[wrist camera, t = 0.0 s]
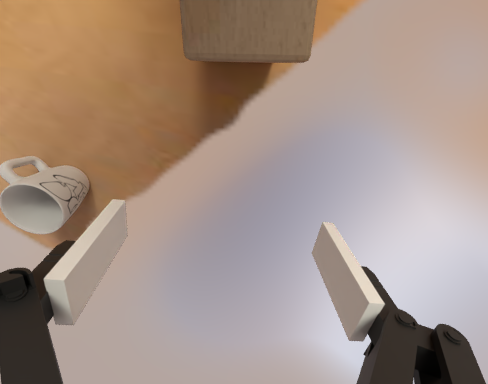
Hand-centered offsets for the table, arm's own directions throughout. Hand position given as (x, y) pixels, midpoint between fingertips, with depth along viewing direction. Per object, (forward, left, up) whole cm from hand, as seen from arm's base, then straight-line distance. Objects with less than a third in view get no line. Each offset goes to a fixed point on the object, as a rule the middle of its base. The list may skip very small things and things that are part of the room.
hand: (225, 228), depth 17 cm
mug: (+12, -27, -28) cm, 41 cm away
